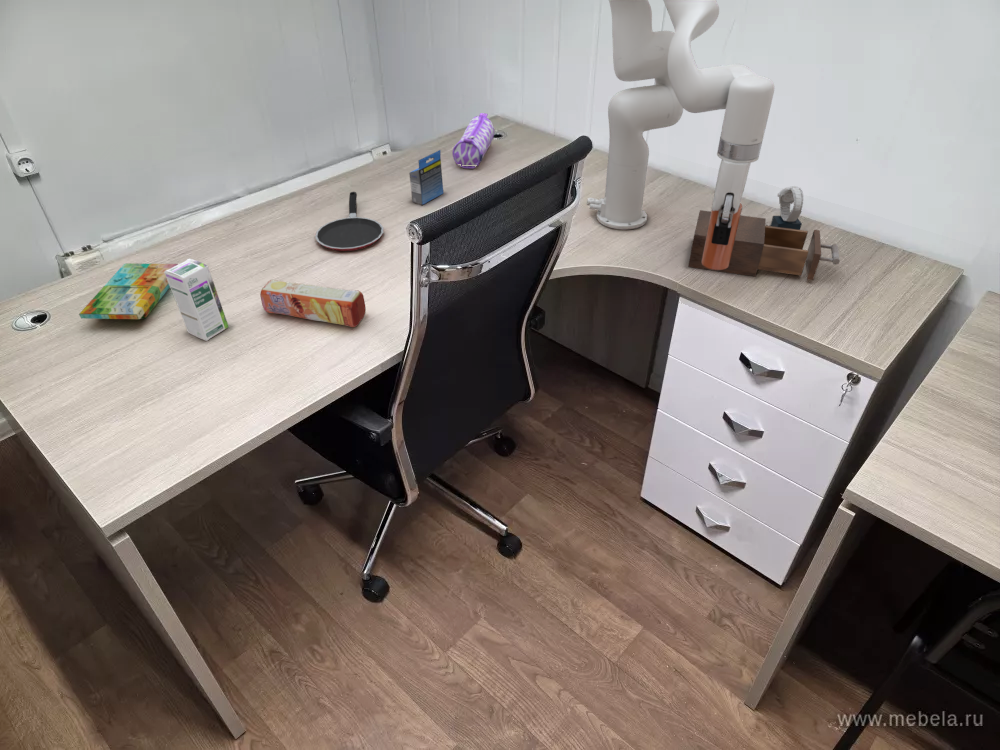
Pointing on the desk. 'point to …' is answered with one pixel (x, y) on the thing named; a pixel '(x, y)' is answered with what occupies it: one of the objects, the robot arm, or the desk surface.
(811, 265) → the drawer
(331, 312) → the snack package
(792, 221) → the watch
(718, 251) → the pencil cup
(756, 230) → the cabinet
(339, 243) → the frying pan
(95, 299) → the puzzle game
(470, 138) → the pencil case
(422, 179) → the tape cartridge
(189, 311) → the syrup box
